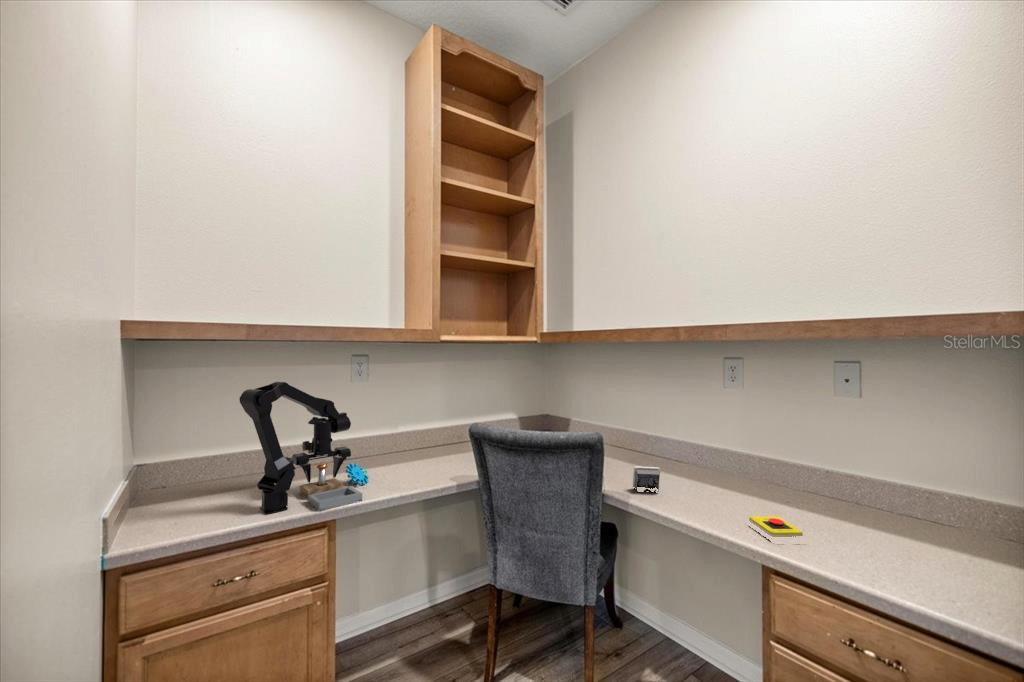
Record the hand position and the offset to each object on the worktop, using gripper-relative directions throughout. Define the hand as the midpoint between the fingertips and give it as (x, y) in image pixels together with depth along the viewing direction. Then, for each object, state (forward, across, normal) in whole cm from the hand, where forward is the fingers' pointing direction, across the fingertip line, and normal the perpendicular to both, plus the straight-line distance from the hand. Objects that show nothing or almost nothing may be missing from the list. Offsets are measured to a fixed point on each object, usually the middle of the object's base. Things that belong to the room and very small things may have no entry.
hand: (321, 479), depth 155 cm
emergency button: (+5, -82, +119) cm, 145 cm away
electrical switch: (+5, -87, +77) cm, 116 cm away
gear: (+5, -14, -1) cm, 15 cm away
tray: (+4, 0, +12) cm, 13 cm away
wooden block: (+4, 0, 0) cm, 4 cm away
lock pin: (+4, 0, 0) cm, 4 cm away
